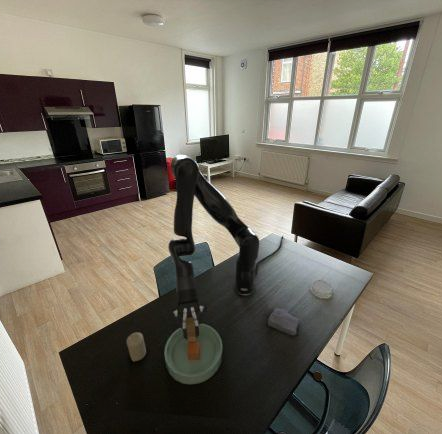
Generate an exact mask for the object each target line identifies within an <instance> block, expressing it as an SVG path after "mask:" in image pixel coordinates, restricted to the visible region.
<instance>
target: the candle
mask: <svg viewBox="0 0 442 434" xmlns="http://www.w3.org/2000/svg"><path fill="white" fill-rule="evenodd" d="M126 345H127V349H128V353H129V357H130V360H131V361H132V362H134V363H135V362H138V361H141V360H142V359H144V358H145V356H146V354H147V348H146V343H145V339H144V335H143V333H141V332H140V331H139V332H133V333H131V334H129V336H127V338H126Z"/></svg>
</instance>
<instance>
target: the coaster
mask: <svg viewBox="0 0 442 434" xmlns="http://www.w3.org/2000/svg"><path fill="white" fill-rule="evenodd" d="M310 292H311V294H313V296H315V297H317V298H319V299H322V300H323V299H325V300H327V299H330V298H331V297H332V296H333V294H334V287H333V285H332V284H331V283H329V282H328V281H326V280H323V279H315V280H314V281H312V282H311V283H310Z"/></svg>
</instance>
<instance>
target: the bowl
mask: <svg viewBox="0 0 442 434" xmlns="http://www.w3.org/2000/svg"><path fill="white" fill-rule="evenodd" d="M197 342H200V357H199V360H188V355H187V351H188V340H186V338H185V339H184V337H183V329H182V328H177V329H176V330H175V331H174V332H173V333H172V334H171V335H170V336H169V337H168V338H167V341H166V344H165V345H164V352H163V355H164V361H165V367H166V370H167V371H168V374H169V376H171V377H172V378H173V380H175V381H177V382H178V383H181V384H183V385H198V384H201V383H203V382H206V381H207V380H208V379H211V377H213V376H214V375H215V374H216V372H217V371H218V370H219V368H220V366H221V364H222V360H223V340H222V338H221V335H220V334H219V333H218V331H217V330H216V329H214V328H213V327H212V326H210V325H208V324H205V323H202V324H200V325H199V336H198V338H196V343H197Z"/></svg>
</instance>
